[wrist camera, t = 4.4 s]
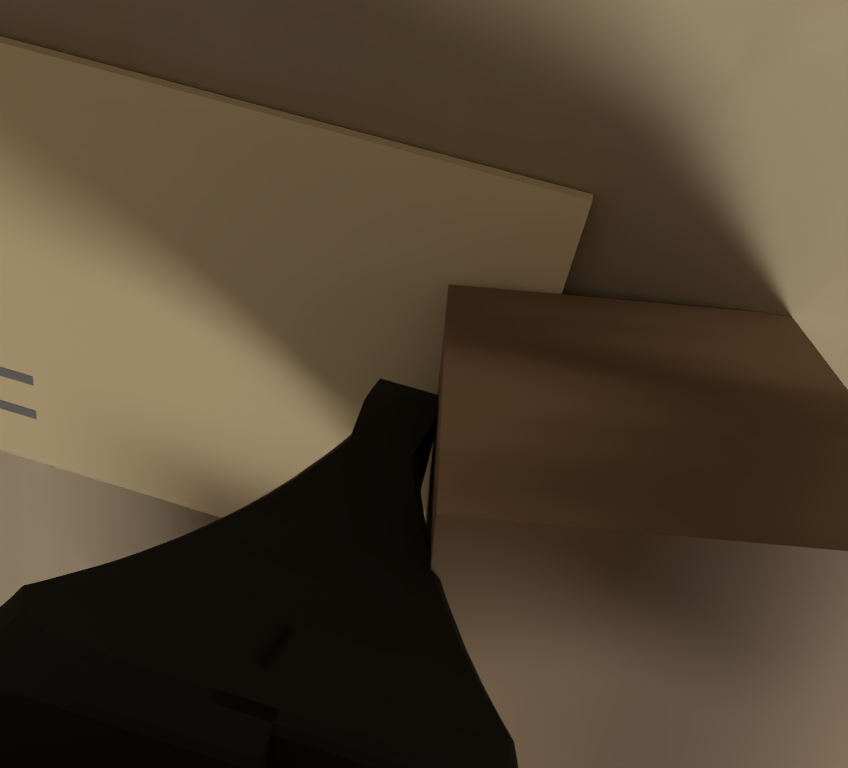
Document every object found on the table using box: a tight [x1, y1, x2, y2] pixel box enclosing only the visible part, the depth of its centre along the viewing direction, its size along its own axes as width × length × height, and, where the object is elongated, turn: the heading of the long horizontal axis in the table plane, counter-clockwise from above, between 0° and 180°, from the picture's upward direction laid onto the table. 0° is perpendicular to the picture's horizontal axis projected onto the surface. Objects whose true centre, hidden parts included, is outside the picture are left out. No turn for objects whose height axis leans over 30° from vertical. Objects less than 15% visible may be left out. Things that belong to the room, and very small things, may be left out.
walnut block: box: [425, 284, 848, 768], centre depth 11 cm, size 5×5×5 cm
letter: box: [0, 36, 593, 518], centre depth 13 cm, size 12×8×1 cm, turn 79°
